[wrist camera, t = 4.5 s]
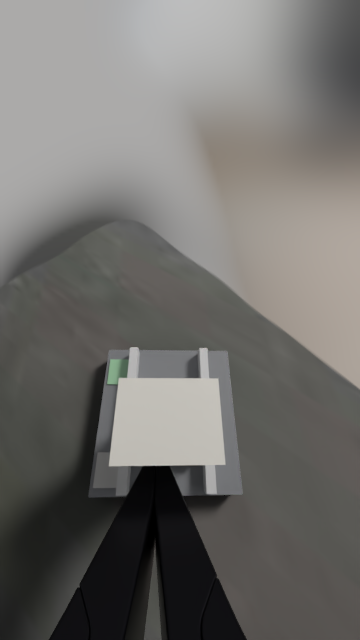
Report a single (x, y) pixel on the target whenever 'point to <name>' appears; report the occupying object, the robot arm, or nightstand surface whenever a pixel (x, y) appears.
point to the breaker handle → (167, 422)
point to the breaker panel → (187, 476)
